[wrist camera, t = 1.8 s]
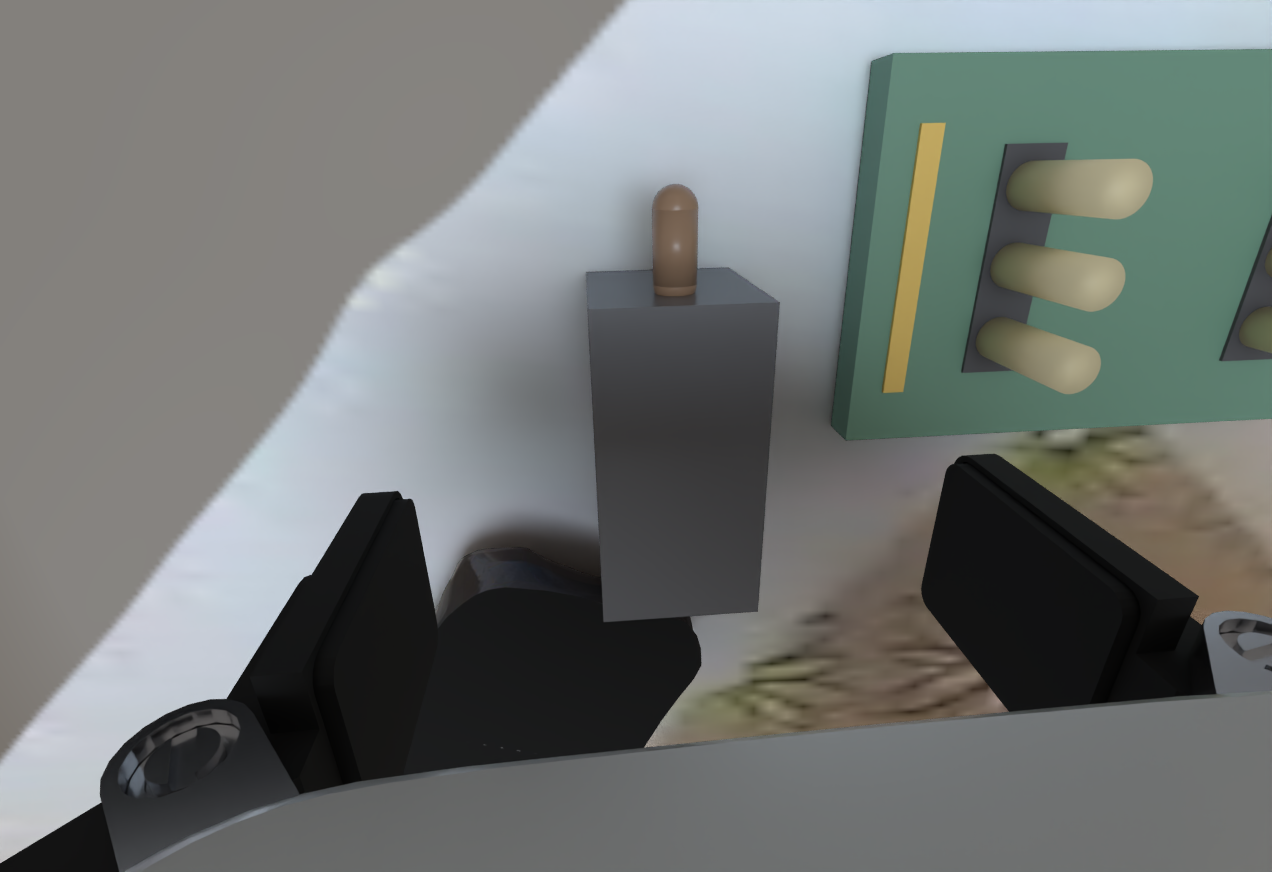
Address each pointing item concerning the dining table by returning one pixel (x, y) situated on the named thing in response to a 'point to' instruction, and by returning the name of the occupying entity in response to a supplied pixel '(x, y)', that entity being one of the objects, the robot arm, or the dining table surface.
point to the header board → (1060, 243)
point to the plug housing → (680, 426)
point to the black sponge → (542, 667)
